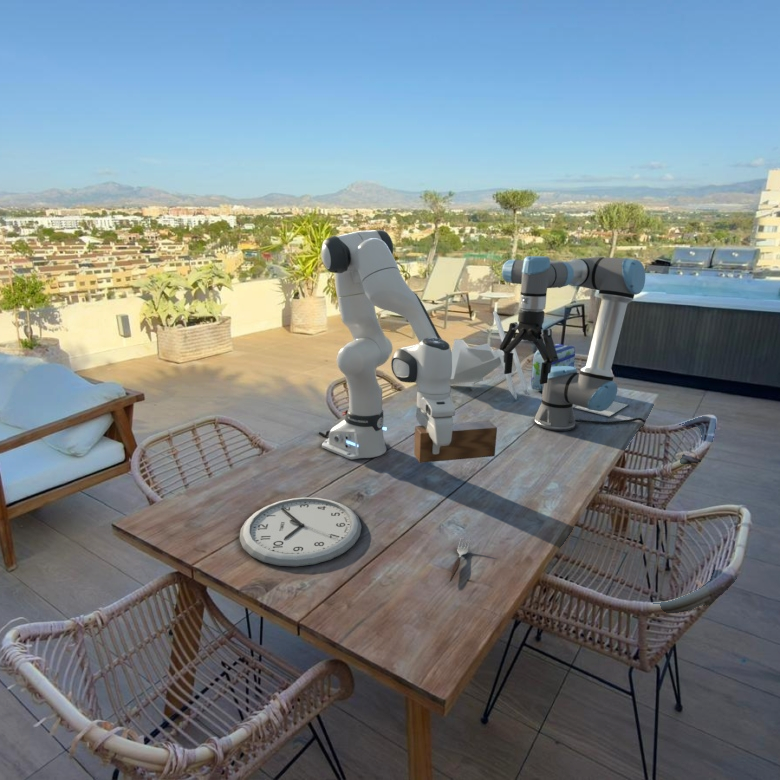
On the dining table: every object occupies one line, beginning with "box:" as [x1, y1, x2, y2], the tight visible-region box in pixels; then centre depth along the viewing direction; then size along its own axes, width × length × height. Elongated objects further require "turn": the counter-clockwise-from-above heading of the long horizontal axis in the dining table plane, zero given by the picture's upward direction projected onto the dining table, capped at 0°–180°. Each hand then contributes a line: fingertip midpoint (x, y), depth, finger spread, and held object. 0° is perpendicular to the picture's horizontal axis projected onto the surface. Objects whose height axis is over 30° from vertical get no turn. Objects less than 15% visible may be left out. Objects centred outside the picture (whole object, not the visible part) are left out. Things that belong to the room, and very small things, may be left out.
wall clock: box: [239, 497, 362, 567], centre depth 131 cm, size 30×2×30 cm
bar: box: [413, 420, 498, 464], centre depth 144 cm, size 22×6×8 cm, turn 103°
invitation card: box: [573, 400, 629, 418], centre depth 226 cm, size 21×1×15 cm
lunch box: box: [530, 343, 576, 392], centre depth 248 cm, size 26×11×21 cm, turn 134°
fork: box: [449, 535, 471, 582], centre depth 119 cm, size 3×16×2 cm, turn 160°
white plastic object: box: [450, 310, 531, 400], centre depth 245 cm, size 37×45×31 cm
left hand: (431, 448), depth 142 cm, fingers closed on bar, 5 cm apart
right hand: (525, 378), depth 162 cm, fingers open, 13 cm apart
